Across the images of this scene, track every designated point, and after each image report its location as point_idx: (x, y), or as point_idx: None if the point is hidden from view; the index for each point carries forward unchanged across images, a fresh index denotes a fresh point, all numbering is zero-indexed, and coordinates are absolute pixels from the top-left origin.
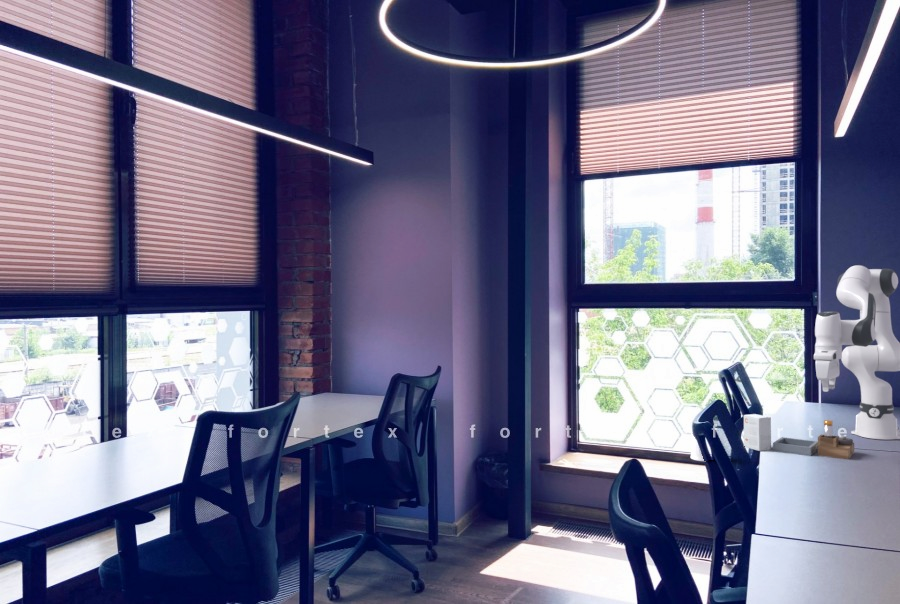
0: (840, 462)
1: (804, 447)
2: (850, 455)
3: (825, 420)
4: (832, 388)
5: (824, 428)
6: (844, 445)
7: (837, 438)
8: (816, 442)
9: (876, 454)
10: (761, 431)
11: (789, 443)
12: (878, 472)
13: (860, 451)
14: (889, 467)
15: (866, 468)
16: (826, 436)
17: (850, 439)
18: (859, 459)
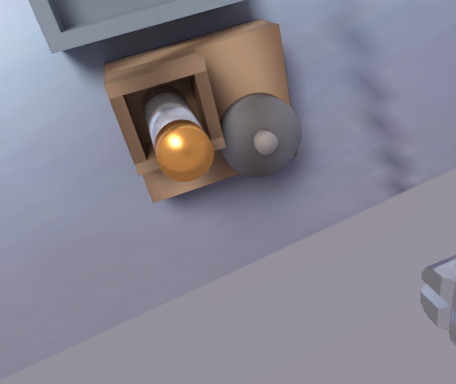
0: (67, 190)
1: (36, 18)
2: None
3: (189, 134)
4: (429, 307)
5: (156, 122)
6: None
7: None
8: (217, 3)
9: (318, 189)
10: None
11: None
12: (50, 322)
13: (329, 134)
14: (154, 301)
15: (67, 280)
16: (147, 120)
17: (281, 159)
18: (188, 200)
